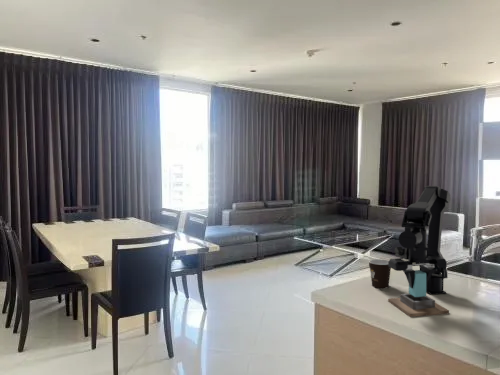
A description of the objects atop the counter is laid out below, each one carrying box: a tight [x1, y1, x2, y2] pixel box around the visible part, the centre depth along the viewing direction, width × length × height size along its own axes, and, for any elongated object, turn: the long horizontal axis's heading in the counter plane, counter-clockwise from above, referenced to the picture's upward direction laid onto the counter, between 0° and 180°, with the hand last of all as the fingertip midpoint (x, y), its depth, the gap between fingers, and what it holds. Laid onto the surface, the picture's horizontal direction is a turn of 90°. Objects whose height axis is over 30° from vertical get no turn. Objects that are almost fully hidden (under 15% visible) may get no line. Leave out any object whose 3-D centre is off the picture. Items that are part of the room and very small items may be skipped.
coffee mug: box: [368, 258, 392, 289], centre depth 155 cm, size 12×9×10 cm
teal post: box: [408, 269, 427, 297], centre depth 130 cm, size 4×4×8 cm
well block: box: [387, 293, 450, 318], centre depth 131 cm, size 14×14×4 cm
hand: (417, 287), depth 130 cm, fingers closed on teal post, 4 cm apart
